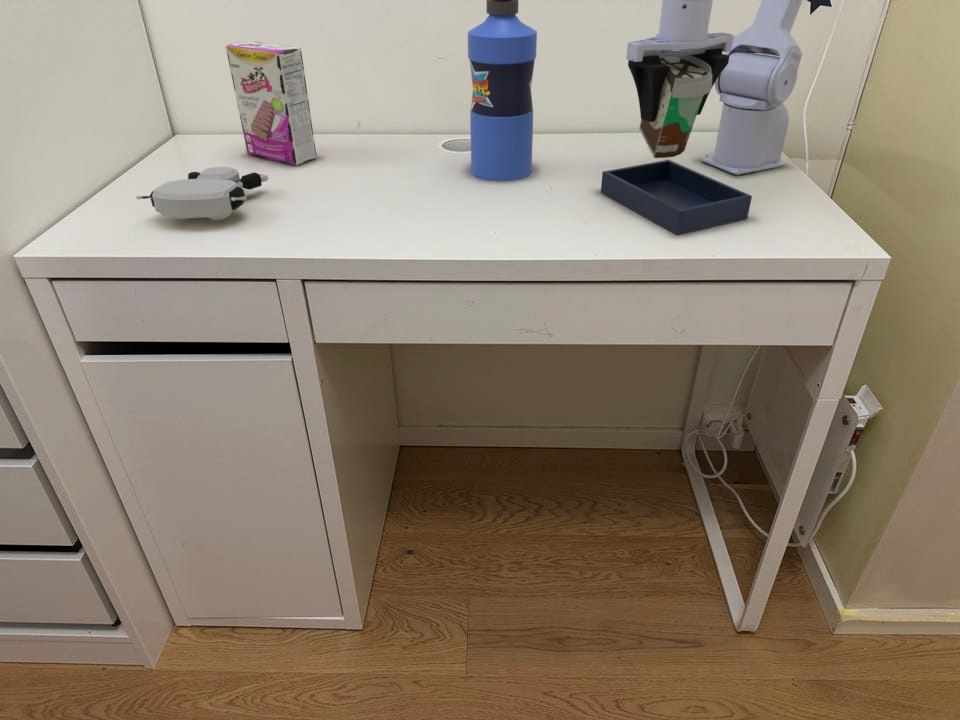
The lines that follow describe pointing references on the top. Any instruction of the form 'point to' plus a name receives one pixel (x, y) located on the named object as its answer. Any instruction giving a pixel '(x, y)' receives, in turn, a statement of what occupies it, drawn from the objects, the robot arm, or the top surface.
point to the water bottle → (501, 94)
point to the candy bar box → (272, 101)
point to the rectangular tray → (675, 196)
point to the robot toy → (204, 194)
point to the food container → (677, 105)
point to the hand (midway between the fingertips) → (671, 116)
